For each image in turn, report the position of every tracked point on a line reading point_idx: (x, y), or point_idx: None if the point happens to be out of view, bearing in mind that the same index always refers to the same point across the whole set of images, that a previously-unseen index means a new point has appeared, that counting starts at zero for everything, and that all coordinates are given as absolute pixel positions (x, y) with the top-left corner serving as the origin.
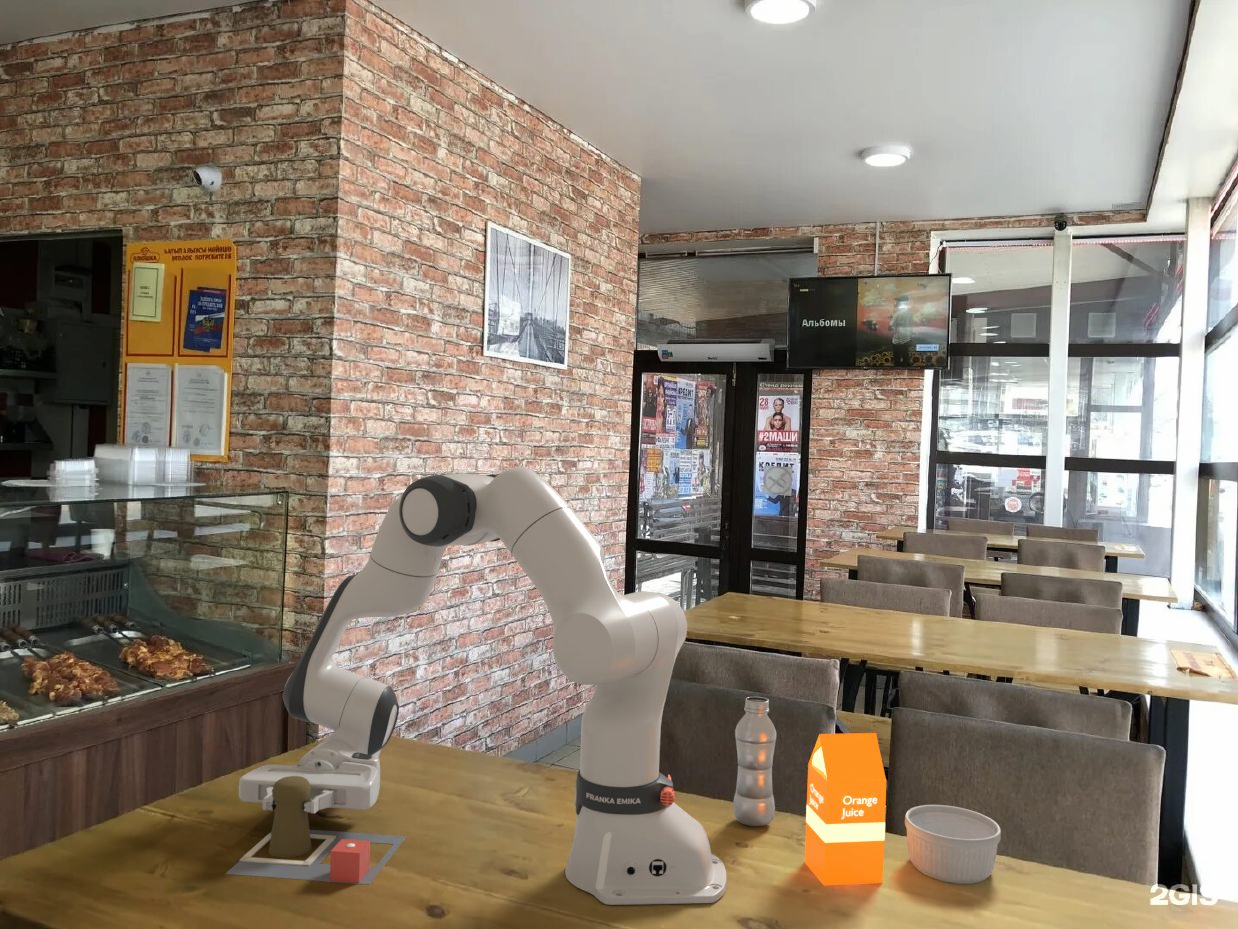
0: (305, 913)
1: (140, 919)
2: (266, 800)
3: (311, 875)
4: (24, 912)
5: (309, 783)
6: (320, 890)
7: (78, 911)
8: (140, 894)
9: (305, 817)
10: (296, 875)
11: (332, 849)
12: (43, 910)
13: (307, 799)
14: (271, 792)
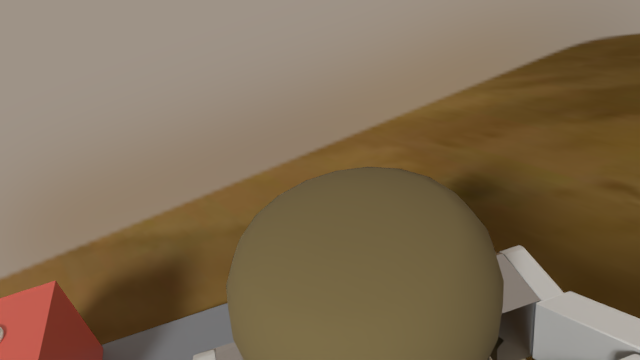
0: (125, 245)
1: (429, 103)
2: (496, 252)
3: (177, 345)
4: (637, 34)
5: (247, 337)
6: (133, 333)
7: (562, 68)
8: (541, 131)
9: None
10: (224, 321)
11: (51, 290)
12: (619, 47)
13: None
14: (574, 313)
